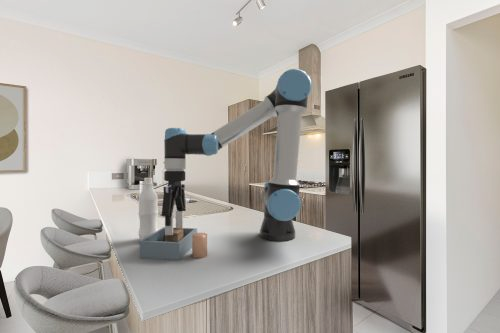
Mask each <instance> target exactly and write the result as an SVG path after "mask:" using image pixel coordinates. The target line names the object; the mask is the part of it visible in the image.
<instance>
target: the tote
mask: <svg viewBox="0 0 500 333" xmlns="http://www.w3.org/2000/svg"><path fill="white" fill-rule="evenodd" d="M173 229H179V228H176V227H173ZM195 233H198V228H194V227H183V239H181V240H180V241H179V242H165V226H164V227H162V228H160V229H158V231H156V232H155V233H153V234H151V235H149V236H148V237H146V238H144V239H143V240H139V241H138V242H139V243H138V244H139V247H138V248H139V249H138V250H139V253H138V254H139V258H140V259H153V260H168V259H169V261H170V260H171V261H174V260H175V261H180V260H182V258H183V257H184V256H185V255H186V254H187V253H188V252H189V251H190V250H192V235H193V234H195Z"/></svg>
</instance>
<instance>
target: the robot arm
mask: <svg viewBox="0 0 500 333" xmlns="http://www.w3.org/2000/svg"><path fill="white" fill-rule="evenodd" d="M311 91H312V80H311V78H310V76H309V74H308V73H307V72H306V71H304V70H301V69H300V68H290V69H287V70H286V71H284V72H283V73H282V74H281V75H280V76H279V78H278V81H277V84H276V86H275V89H274V90H273V91H271V92H270V93H269V94H268V95H266V96H264V100H263V101H262V102H260V103H258V104H257V105H254V106H253V107H251V108H250V109H248V110H246V111H245V112H243V113H242V114H240V115H238V117H236V118H234V119H232V120H231V121H229V122H227V123H226V124H224V125H222V126H221V127H219V128H218V129H216V130H214V131H213V132H211V133H204V134H197V133H196V134H189V133H187V131H186V129H185V128H181V127H168V128H166V129H165V130H164V140H163V143H164V161H163V165H164V170H165V171H164V172H163V174H164V175H163V176H164V177H163V180H164V181H165V182H168V183H167V186H163V198H162V208H161V217H164V227H165V235H173V228H174V216H173V212H174V206H175V207H176V208H175V209H176V211H175V228H179V229H183V228H184V212H186V210H187V209H186V194H185V184H182V182H184V181H186V161H187V160H186V155H199V156H200V155H203V156H208V157H209V156H212V155H216V154H218V152H219V151H220V150H221V149H222V148H224V147H225V146H228V145H229V144H231V143H232V142H234V141H235V140H237V139H239V138H240V137H242V136H244V135H245V134H247V133H249V132H251V131H252V130H253V129H255V128H257V127H258V126H260V125H262V124H263V123H265V122H266V121H268V120H270V119H272V118H277V126H276V127H277V128H276V137H275V138H276V139H275V149H274V150H275V152H274V164H273V170H272V171H273V172H272V174H273V175H272V178H270V179H269V180H268V181H267V182H265V183H264V187H263V193H264V194H263V195H264V196H263V197H264V199H263V208H264V209H263V210H264V211H263V220H262V223H261V226H260V229H259V236H260V237H261V238H263V239H265V240H269V241H275V242H276V241H279V242H283V241H285V242H286V241H290V240H293V239H295V238H296V229H295V225H294V222H293V219H294V218H295V217H297V215H299V213H300V210H301V208H302V207H301V206H302V203H301V198H300V186H301V183H300V182H299V181H298V180H297V172H298V164H299V163H298V162H299V150H300V139H301V138H300V137H301V131H302V130H301V129H302V127H301V126H302V117H303V114H304V113H305V112H306V111H307V110H308V109H307V108H308V98H309V95H310V93H311Z"/></svg>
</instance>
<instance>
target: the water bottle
mask: <svg viewBox="0 0 500 333" xmlns="http://www.w3.org/2000/svg"><path fill="white" fill-rule="evenodd" d="M143 179H144V180H143V188H142V189H141V191H140V194H139V195H138V217H139V218H138V219H139V230H138V238H139V241H141V240H143V239H144V238H146V237H148V236H149V235H151V234H153V233H155V232H156V231H158V230H159V229H158V215H159V210H158V205H159V204H158V201H159V198H158V197H159V196H158V194H157V192H156V190H155V188H154V185H153V184H154V182H153V177H144V178H143Z"/></svg>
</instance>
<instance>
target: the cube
mask: <svg viewBox="0 0 500 333" xmlns="http://www.w3.org/2000/svg"><path fill="white" fill-rule="evenodd" d="M181 239H183V229H173V235H165V242H179V241H180V240H181Z"/></svg>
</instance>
